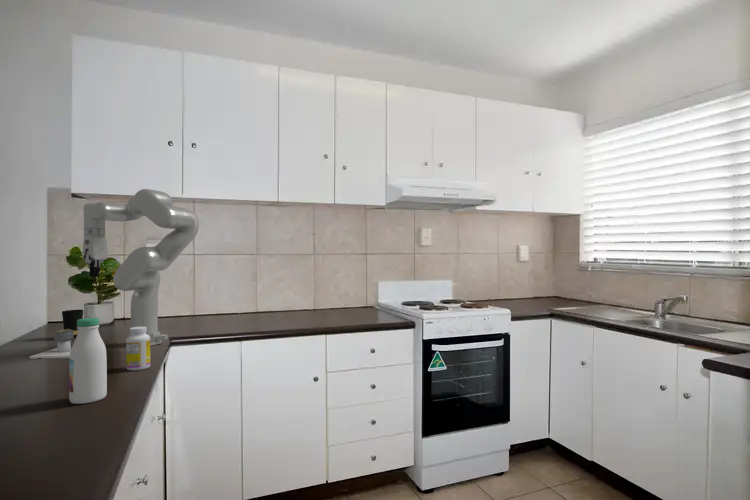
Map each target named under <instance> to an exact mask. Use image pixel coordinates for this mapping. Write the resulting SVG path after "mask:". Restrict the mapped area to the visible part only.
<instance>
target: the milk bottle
mask: <svg viewBox="0 0 750 500" xmlns="http://www.w3.org/2000/svg"><path fill="white" fill-rule="evenodd" d="M99 328H100V319H99V318H98V317H88V318H87V317H85V318H83V319H79V320H77V329H78V334H77V337H76V339H74V342H73V344H72V345H71V347H72V348H71V351H70V358H68V359H69V360H68V361H69V363H68V364H69V365H68V366H69V367H68V368H69V369H68V379H69V380H68V383H69V384H68V386H69V388H68V389H69V390H68V397H69V399H68V400H69V402H70V403H71V404H73V405H74V404H75V405H78V404H79V405H80V404H83V405H84V404H89V403H90V404H91V403H94V402H98V401H100V400H103V399H105V398H106V397H107V396H108V395H107V394H108V391H107V389H108V387H107V384H108V381H107V380H108V378H107V377H108V375H107V374H108V373H107V371H108V370H107V369H108V366H107V365H108V362H107V348H106V344H105V343H104V341H103V339H102V337H101V335H100V332H99Z"/></svg>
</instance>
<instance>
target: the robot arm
mask: <svg viewBox="0 0 750 500" xmlns="http://www.w3.org/2000/svg"><path fill="white" fill-rule="evenodd" d="M173 203H174V202H173V199H172V197H171V195H170V194H169V193H166V192H164V191H161V190H160V191H159V190H154V189H150V188H143V189H142V188H141V189H140V190H138V191H137V192H136V193H135V194H134V195H133V196H131V197H130V198H129V199H128V201H127V203H124V204H123V203H115V202H108V201H100V202H99V201H98V202H95V203H92V202H91V203H89V202H88V203H85V204H84V205H83V242H82V258H83V260H84V262H85V264H88V268H89V277H90V278H98V277H101V272H100V270H101V265H102V263H104V260H107V259H108V257H109V256H108V243H107V238H106V221H110V222H122V223H123V222H130V221H136V220H139V219H140V218H142V217H146V218H147V219H148V220H149V221H151V222H152V223H153V224H154V225H156V226H157V227H159V228H162V229H171V230H172V231H171V232H169V233H167V234H166V235H165V236H164V237H163V238H162V239H161V240H160V241H159V243H157V244H156V245H154V246H142V247H137V248H136V249H134V250H132V252H131V253H130V254H129V255H127V257H126V258H125V260H124V261H122V263H121V264H120V266H119V267H118V268H117V269H116V270H115V273H114V274H113V277H112V278H113V280H112V282H113V285H114V287H115V288H116V289H118V290H119V291H122V292H132V291H133V293H132V296H131V298H130V328H133V327H146V329H147V331H146V334H147V335H149V336H150V347H152V346H156V345H160V344H162V342H163V340H168V336H169V335H168V334H167V333H165V334H164V333H163V334H161V331H160V330H159V328H158V323H159V321H158V313H159V312H158V310H159V309H158V303H159V301H158V299H159V298H158V296H159V295H158V294H159V287H160V282H161V273H160V272H161V271H164V270H167V269H168V268H169V267H170V266H171V265H172V264H173V262H174V261H175V260H176V259H177V258H178V257H179V256H180V255H181V253H182V252H183V251H184V250H185V248H187V247H188V246H189V245H190V243H192V241H194V239H195V238H196V236H197V234H198V232H199V227H200V221H199V217H198V215H197V214H196V213H195V212H194V211H192V210H191V209H187V208H183V207H178V206H177V207H176V206H173ZM159 271H160V272H159Z"/></svg>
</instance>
